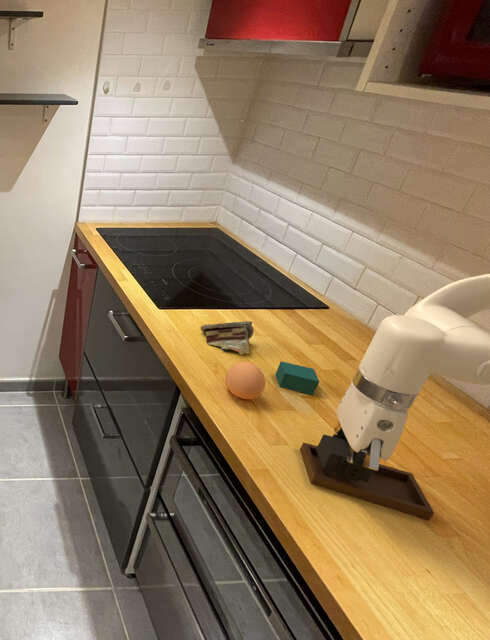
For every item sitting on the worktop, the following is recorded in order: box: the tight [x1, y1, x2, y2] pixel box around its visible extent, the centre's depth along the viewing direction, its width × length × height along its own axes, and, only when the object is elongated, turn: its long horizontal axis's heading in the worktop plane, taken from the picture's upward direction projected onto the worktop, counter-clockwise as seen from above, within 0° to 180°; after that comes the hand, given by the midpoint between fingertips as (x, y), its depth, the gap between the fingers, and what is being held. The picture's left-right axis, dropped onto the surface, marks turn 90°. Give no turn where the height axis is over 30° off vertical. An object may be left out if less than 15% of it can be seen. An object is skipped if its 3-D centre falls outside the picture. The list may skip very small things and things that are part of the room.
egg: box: [224, 360, 266, 400], centre depth 98 cm, size 7×7×8 cm
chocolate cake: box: [200, 320, 255, 356], centre depth 115 cm, size 10×7×12 cm
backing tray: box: [299, 442, 435, 521], centre depth 80 cm, size 16×8×2 cm, turn 66°
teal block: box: [275, 360, 320, 396], centre depth 102 cm, size 6×5×4 cm
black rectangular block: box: [316, 433, 375, 482], centre depth 80 cm, size 6×5×4 cm
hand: (342, 464), depth 80 cm, fingers closed on black rectangular block, 4 cm apart
